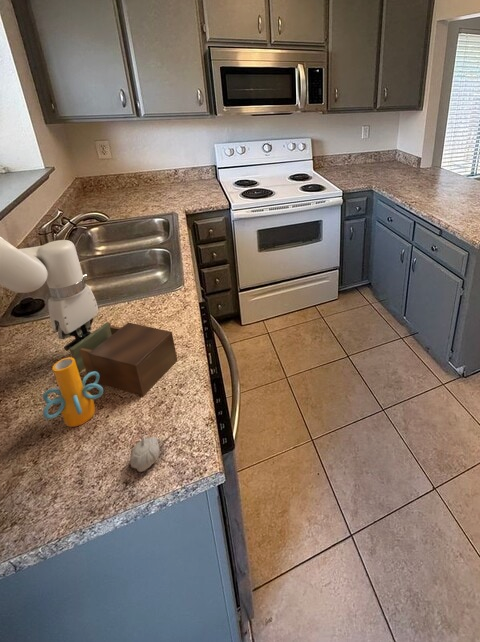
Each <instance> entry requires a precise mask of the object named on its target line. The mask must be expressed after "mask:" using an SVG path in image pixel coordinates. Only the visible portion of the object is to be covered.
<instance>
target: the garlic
mask: <svg viewBox="0 0 480 642" xmlns="http://www.w3.org/2000/svg"><path fill="white" fill-rule="evenodd" d="M159 456H160V444H159V439H158V438H157V437H156V436H150V437H146V435H143V436H142V439H141V440H139V441H138V442H137V443H136V444H134V446H133V447H131V449H130V456H129V457H130V459H129V462H130V463H129V464H130V466H131V468H133V469H136V471H137V472H144V471H147V469H149V468H151V466H152V465H153V464H155V463H156V461H157V460H158V459H159Z"/></svg>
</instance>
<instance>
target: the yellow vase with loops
mask: <svg viewBox="0 0 480 642" xmlns="http://www.w3.org/2000/svg"><path fill="white" fill-rule="evenodd" d="M52 371H53V373H54V378H55V380H56V384H57V387H58V388H49V389H47V390H45V392H43V395H42V399H43V401H44V402H45V403H46V405H45V407H44V409H43V413H42V414H43V418H45V419H47V420H51V419H54V418H55V419H56V417H59V415H60V414H61V416H62V419H63V423H64V424H65V425H66V426H67V427H71V428H72V427H79V426H81V425H83V424H85V423H86V422H88V421H89V420H91V418H92V417H93V416H94V414H95V413H96V405H95V402H94V400H97V399H99V398H101V397H102V396H103V395H104V388H103V387H102V386H103V385H101V384H97V383H98V382H99V379H100V375H99V373H98V372H96V371H93V372H90V373H89V372H87V374H86V375H84V377H83V378H81V375H80V373H79V371H78V368H77V365H76V362H75V359H74V358H72V356H71V357H64V358H62V359H59V360H58V361H56V362H55V363H54V364H53V365H52ZM92 376H94V377H95V376H96V378H95V380H94V382H92V383H87V384H86V382H87V380H88V379H89V378H90V377H92ZM94 388H95V389H97V390H98V393H97V394H93V395H92V393H91V392H90V391H91V390H93V389H94ZM52 393H53V394H54V393H55V394H57V395H59V396H58V397H54V398H53V399H50V398H49V397H48V396H49V394H52ZM53 405H60V407H59V408H58V410H56V412H54V413H53V414H49V410H50V408H51V407H52V406H53Z"/></svg>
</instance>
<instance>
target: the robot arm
mask: <svg viewBox="0 0 480 642" xmlns="http://www.w3.org/2000/svg"><path fill="white" fill-rule="evenodd" d="M87 278H88V275H87V274H86V273H83V270H82V267H81V263H80V260H79V255H78V252H77V249H76V245H75V244H74V243H73V242H72V241H71V240H69V239H59V240H53V241H49V242H47V243H45V244H43V245H38V246H31V247H24V248H17V247H16V246H14V245H12V244H11V243H10V242H9V241H7V240H5V239H4V238H3V237H2V236H0V286H1V287H3V288H5V289H7V290H9V291H11V292H14V293H18V294H28V293H33V292H36V291H37V290H39V289H40V288H41V287H43V286H44V285H45V284H47V287H48V291H49V294H50V297H48V300H47V308H48V315H49V320H50V324H51V328H52V330H53V331H54V332H55V333H56V332H57V333H58V334H57V335H58V340H59V339H60V340H66V339H67V338H70V337H74V339H76V343H79V342H80V341H81V340H83V339H84V338H85V337H87V336H88V335H90V332H91V330H92V324H93V322H94V320H96V319H97V318H98V317H99V306H98V303H97V300H96V297H95V295H94V292H93V291H92V289H91V287H90V286H89V285H88V284H87V283H86V279H87ZM89 331H90V332H89Z"/></svg>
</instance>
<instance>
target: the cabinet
mask: <svg viewBox="0 0 480 642" xmlns="http://www.w3.org/2000/svg"><path fill="white" fill-rule="evenodd" d="M120 328H121V329H119V330H118V331H117V332H115V333H114V334H113V335H111V336H110V337H109V338H108V339H106V340H105V341H104V342H102V343H101V344H100V345H99V346H97V347H96V348H95V349H93V350H92V351H91V352H89V353H88V354H89V358H90V361H91V365H92V368H93V371H96V372H98V373H99V375H100V379H99V382H98V383H97V384H99V385H100V386H105V387H108V388H111V389H115V390H118V391H122V392H126V393H129V394H133V395H136V396H140V397H145V396H146V395H147V393H149V391H150V390H151V389H152V388H153V387H154V386H155V385H156V384H157V383H158V382H159V381H160V380H161V379H162V378H163V377H164V375H165V374H166V373H167V372H168V371H169V370H170V369H171V368H172V367H173V366H174V365H175V364H176V363H177V362H178V356H177V351H176V346H175V340H174V335H173V331H170V330H165V329H160V328H157V327H151V326H146V325H142V324H138V323H133V322H126V324H124V325H123V326H122V327H120ZM94 379H96V376H95V375H94Z"/></svg>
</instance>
